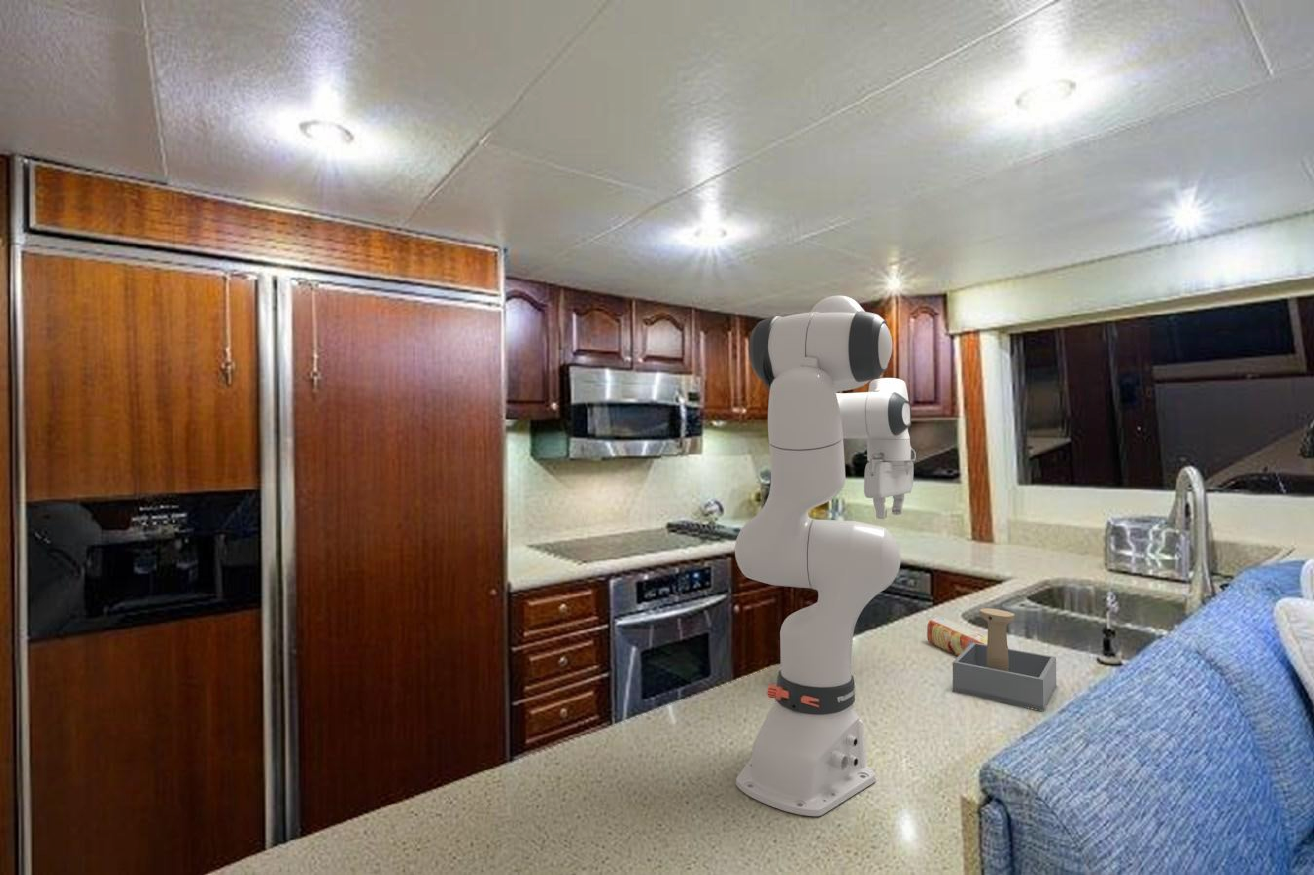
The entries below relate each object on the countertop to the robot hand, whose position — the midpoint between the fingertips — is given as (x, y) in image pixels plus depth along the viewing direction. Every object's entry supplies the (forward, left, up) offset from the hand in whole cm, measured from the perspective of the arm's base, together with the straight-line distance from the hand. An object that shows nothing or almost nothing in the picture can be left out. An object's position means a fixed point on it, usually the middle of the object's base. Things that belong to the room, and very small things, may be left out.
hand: (889, 516), depth 141 cm
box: (+7, -21, -35) cm, 41 cm away
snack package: (+24, -9, -35) cm, 43 cm away
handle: (+5, -20, -34) cm, 40 cm away
